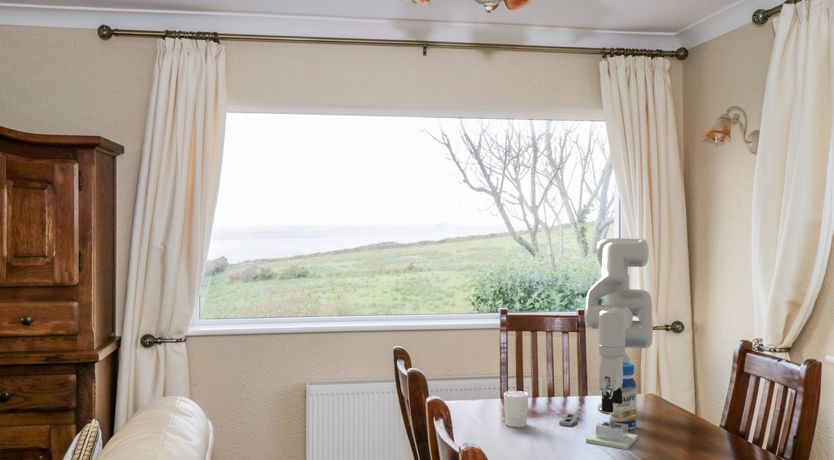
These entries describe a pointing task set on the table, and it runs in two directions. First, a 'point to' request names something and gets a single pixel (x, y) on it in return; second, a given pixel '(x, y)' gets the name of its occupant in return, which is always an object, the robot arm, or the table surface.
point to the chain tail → (568, 420)
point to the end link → (612, 431)
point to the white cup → (516, 408)
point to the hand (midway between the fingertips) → (612, 407)
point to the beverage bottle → (626, 399)
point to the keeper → (612, 443)
